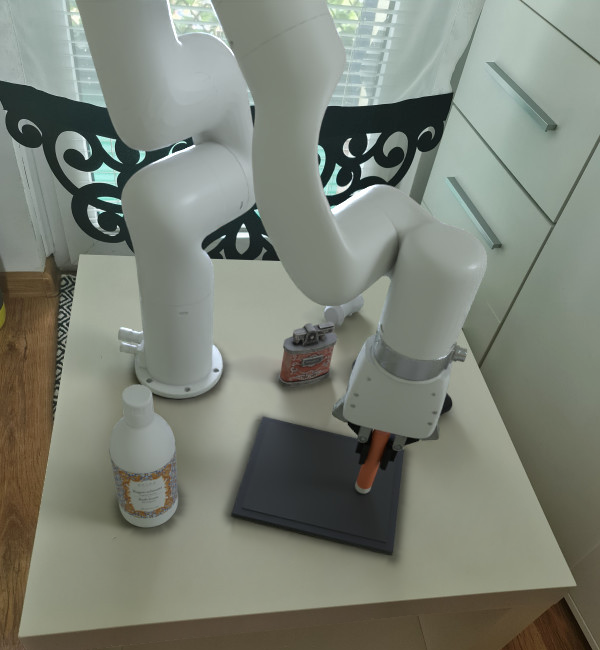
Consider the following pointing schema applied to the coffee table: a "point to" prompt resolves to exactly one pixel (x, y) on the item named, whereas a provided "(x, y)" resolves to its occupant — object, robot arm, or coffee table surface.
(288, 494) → the tablet
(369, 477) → the orange cylindrical rod
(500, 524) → the coffee table surface
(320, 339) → the lighter
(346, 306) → the pale two-lobed sculpture
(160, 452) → the bath foam
